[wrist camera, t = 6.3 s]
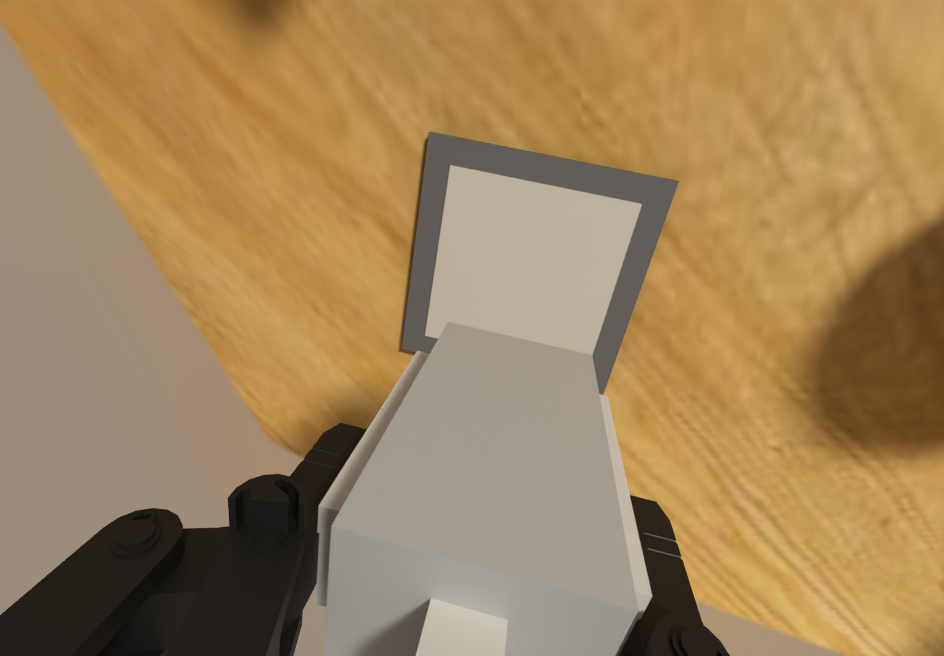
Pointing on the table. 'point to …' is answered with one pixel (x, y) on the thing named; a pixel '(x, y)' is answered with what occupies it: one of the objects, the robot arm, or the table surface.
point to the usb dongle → (485, 514)
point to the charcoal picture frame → (531, 247)
